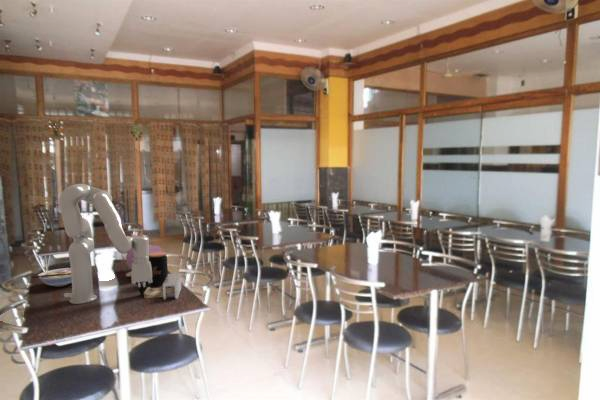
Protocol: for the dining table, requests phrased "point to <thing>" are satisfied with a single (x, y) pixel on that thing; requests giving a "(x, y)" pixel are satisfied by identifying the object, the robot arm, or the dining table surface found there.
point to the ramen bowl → (56, 277)
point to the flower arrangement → (131, 254)
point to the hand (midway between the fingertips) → (142, 293)
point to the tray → (157, 292)
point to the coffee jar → (158, 267)
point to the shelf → (172, 285)
